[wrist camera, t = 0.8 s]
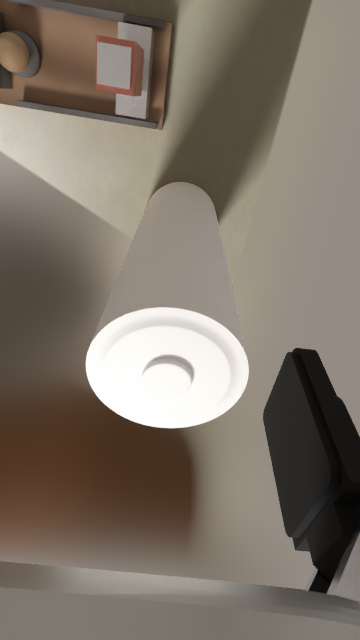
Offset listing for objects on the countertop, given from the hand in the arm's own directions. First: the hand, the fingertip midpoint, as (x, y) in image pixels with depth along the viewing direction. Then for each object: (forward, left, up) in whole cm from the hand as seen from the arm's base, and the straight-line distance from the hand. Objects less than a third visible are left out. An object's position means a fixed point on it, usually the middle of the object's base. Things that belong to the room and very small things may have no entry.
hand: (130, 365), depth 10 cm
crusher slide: (-8, -5, -34) cm, 35 cm away
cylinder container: (+7, +1, -36) cm, 37 cm away
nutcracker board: (-8, -11, -36) cm, 38 cm away
